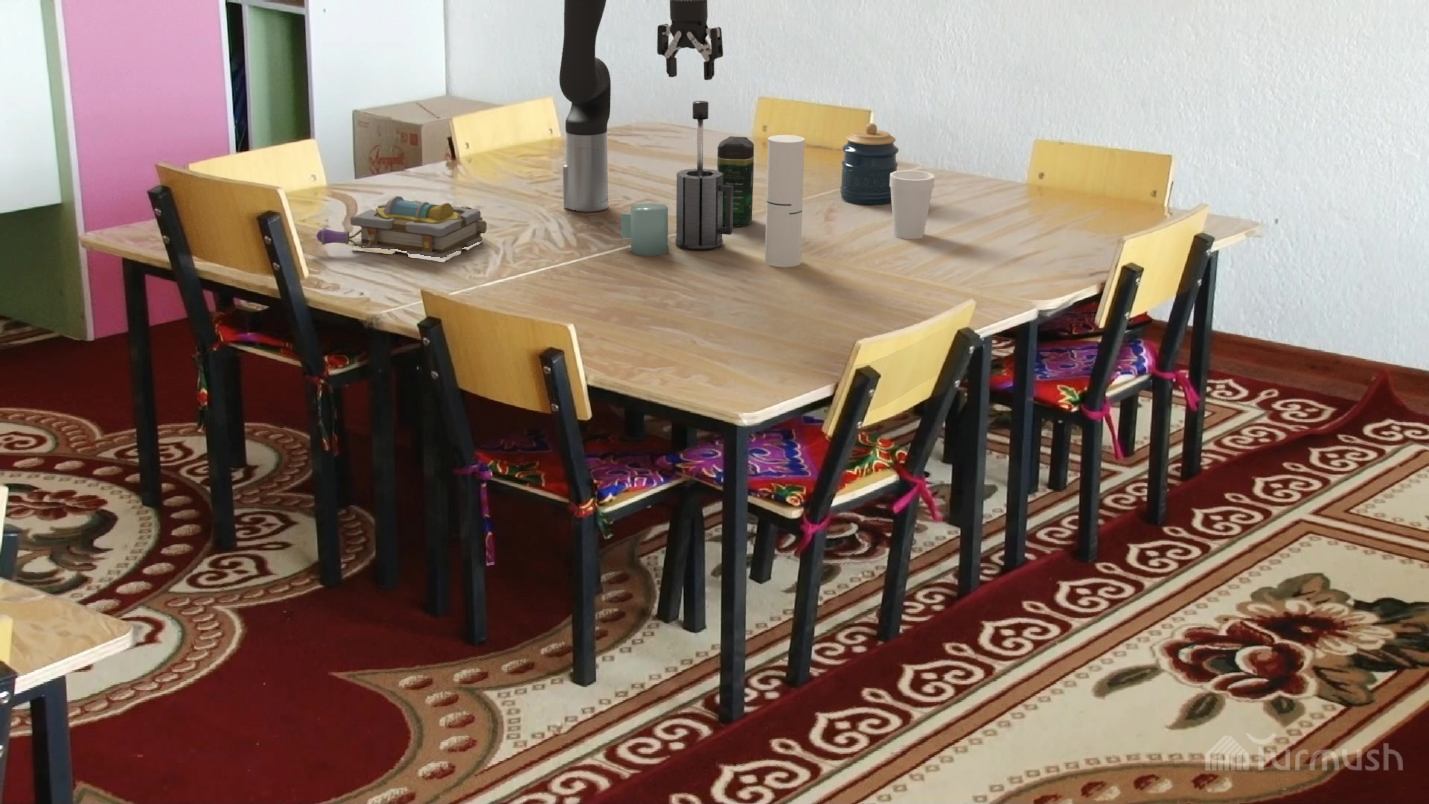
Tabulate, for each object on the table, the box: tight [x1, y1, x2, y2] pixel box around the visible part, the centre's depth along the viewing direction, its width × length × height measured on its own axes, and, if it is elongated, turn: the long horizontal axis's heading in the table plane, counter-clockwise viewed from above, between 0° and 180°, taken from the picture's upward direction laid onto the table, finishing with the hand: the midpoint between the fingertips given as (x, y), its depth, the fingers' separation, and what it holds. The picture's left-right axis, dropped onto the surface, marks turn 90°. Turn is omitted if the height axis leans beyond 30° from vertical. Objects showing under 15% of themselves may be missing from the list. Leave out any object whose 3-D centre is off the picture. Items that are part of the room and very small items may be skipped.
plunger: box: [692, 100, 709, 177], centre depth 320 cm, size 4×4×18 cm
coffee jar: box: [716, 135, 755, 228], centre depth 342 cm, size 10×8×19 cm
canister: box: [840, 122, 900, 206], centre depth 363 cm, size 13×13×18 cm
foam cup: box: [890, 169, 935, 240], centre depth 335 cm, size 10×9×13 cm
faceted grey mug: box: [675, 168, 734, 252], centre depth 325 cm, size 12×10×15 cm
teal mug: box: [620, 202, 669, 257], centre depth 322 cm, size 10×8×9 cm
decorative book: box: [316, 195, 488, 258], centre depth 322 cm, size 25×27×11 cm
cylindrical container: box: [764, 134, 806, 268], centre depth 312 cm, size 7×7×25 cm
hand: (690, 78), depth 320 cm, fingers open, 8 cm apart
